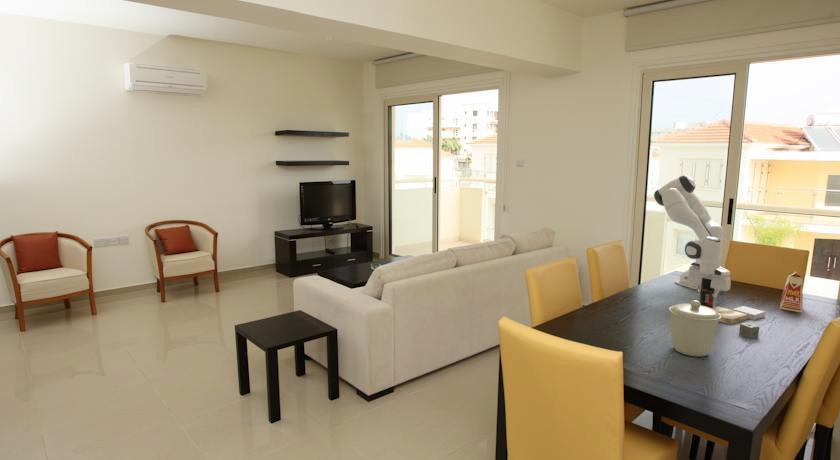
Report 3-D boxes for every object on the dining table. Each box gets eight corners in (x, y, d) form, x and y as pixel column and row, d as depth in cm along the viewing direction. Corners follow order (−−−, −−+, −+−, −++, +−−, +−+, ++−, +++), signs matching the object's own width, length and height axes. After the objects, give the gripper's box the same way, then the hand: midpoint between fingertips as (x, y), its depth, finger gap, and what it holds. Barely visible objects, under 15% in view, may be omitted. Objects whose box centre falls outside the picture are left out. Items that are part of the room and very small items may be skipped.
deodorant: (709, 305, 258) (712, 277, 256) (714, 308, 252) (717, 280, 250) (697, 304, 259) (699, 276, 256) (702, 308, 253) (705, 279, 251)
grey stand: (732, 313, 244) (732, 309, 244) (742, 310, 250) (743, 306, 249) (754, 320, 236) (754, 314, 236) (764, 316, 241) (765, 311, 241)
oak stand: (701, 315, 242) (701, 310, 241) (717, 311, 249) (717, 305, 248) (731, 324, 230) (731, 318, 229) (747, 319, 237) (747, 314, 236)
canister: (671, 339, 211) (676, 291, 207) (720, 350, 199) (726, 299, 196) (660, 352, 197) (664, 301, 193) (712, 365, 185) (718, 311, 182)
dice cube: (738, 334, 217) (740, 323, 216) (747, 333, 219) (748, 322, 218) (749, 338, 212) (751, 327, 212) (758, 337, 214) (759, 326, 213)
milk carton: (802, 312, 248) (807, 273, 245) (779, 308, 253) (784, 270, 250) (802, 308, 255) (807, 270, 252) (780, 304, 260) (785, 267, 257)
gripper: (686, 265, 260) (683, 290, 262) (726, 273, 242) (723, 301, 244) (693, 264, 263) (690, 289, 265) (733, 272, 245) (730, 299, 248)
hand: (706, 295), depth 255 cm, fingers closed on deodorant, 6 cm apart
